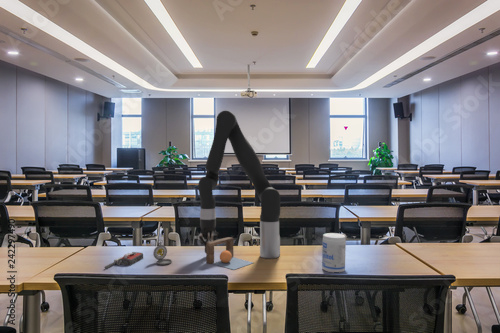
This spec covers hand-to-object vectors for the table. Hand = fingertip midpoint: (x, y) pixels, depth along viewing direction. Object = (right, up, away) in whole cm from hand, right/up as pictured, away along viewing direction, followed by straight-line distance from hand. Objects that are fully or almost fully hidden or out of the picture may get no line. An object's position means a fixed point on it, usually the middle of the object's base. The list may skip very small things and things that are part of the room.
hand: (208, 253), depth 163 cm
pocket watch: (-19, -2, -10) cm, 22 cm away
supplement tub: (+56, -2, -20) cm, 59 cm away
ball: (+9, +1, -10) cm, 14 cm away
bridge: (+6, -2, -6) cm, 9 cm away
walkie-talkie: (-36, -2, -11) cm, 38 cm away
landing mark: (+13, -2, -11) cm, 17 cm away
